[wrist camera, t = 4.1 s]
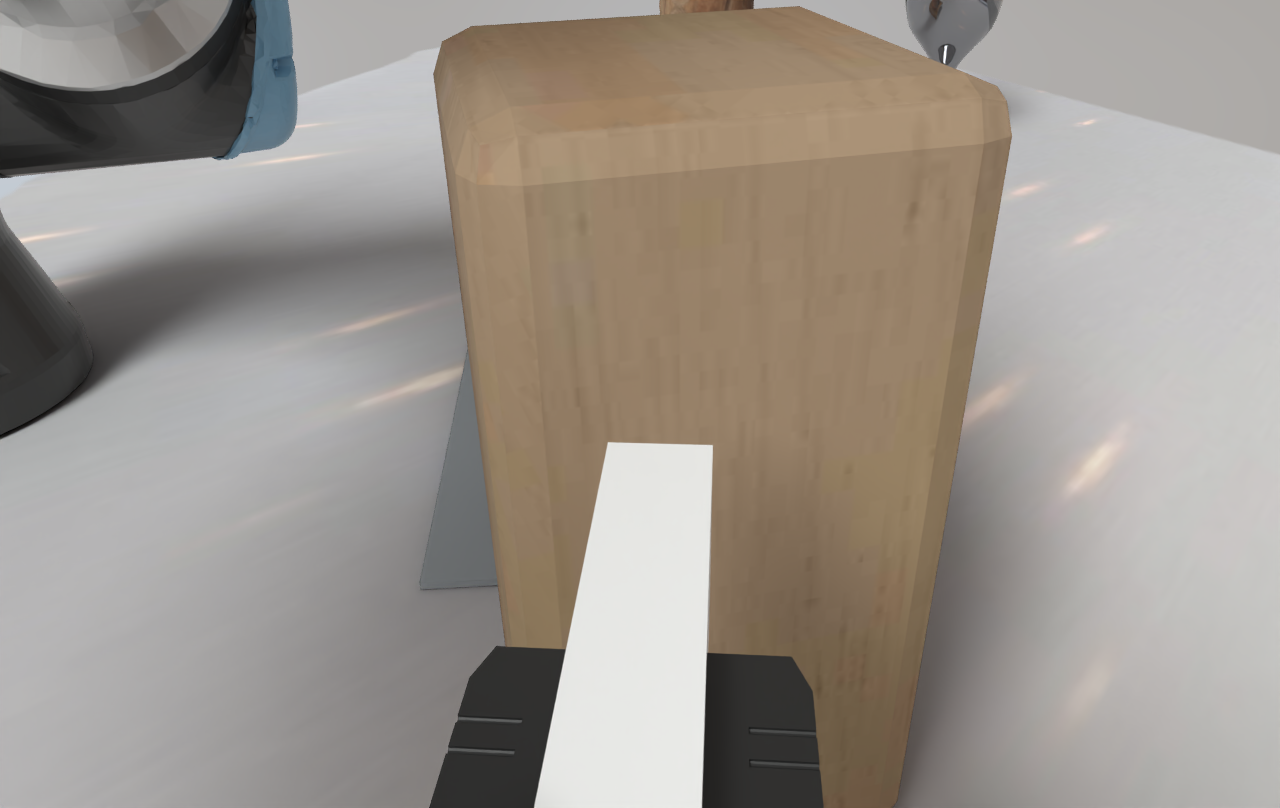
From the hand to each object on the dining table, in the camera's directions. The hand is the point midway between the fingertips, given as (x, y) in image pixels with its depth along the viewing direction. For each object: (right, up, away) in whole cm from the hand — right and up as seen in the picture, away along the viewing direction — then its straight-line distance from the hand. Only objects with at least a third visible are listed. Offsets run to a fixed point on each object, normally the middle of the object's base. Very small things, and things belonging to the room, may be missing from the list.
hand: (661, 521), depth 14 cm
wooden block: (+1, -8, +16) cm, 18 cm away
